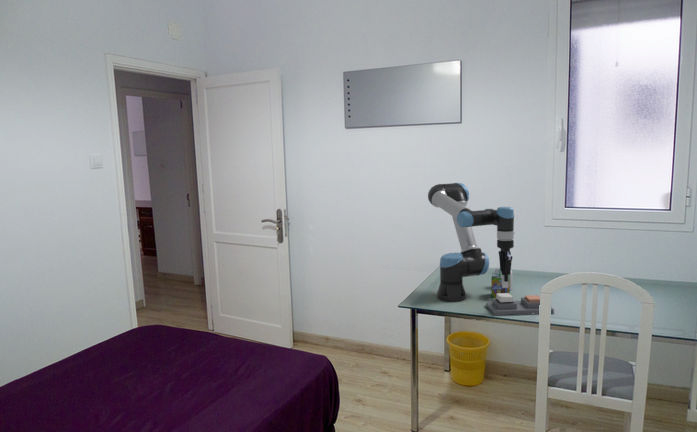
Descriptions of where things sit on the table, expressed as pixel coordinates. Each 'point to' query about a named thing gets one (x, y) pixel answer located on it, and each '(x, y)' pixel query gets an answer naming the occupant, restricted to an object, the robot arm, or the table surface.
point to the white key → (504, 297)
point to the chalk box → (498, 284)
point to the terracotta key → (532, 298)
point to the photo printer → (510, 276)
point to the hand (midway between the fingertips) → (505, 287)
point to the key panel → (513, 307)
